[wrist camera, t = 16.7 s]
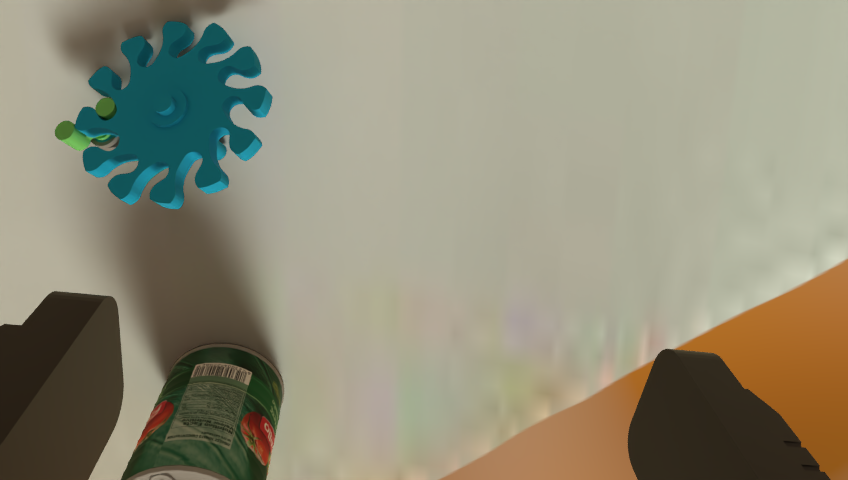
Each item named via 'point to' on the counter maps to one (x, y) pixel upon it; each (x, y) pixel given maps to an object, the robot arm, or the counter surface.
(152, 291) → the counter surface
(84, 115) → the gear
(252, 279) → the counter surface
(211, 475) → the canned tomato
